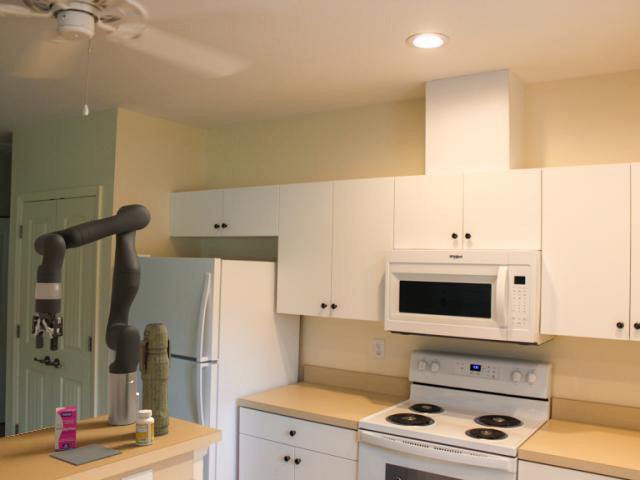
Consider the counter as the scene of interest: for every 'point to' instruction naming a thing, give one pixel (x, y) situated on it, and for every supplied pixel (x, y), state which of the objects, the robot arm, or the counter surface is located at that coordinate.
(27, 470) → the counter surface
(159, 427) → the thermos
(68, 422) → the supplement box
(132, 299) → the robot arm
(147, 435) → the supplement bottle
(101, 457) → the rubber mat
